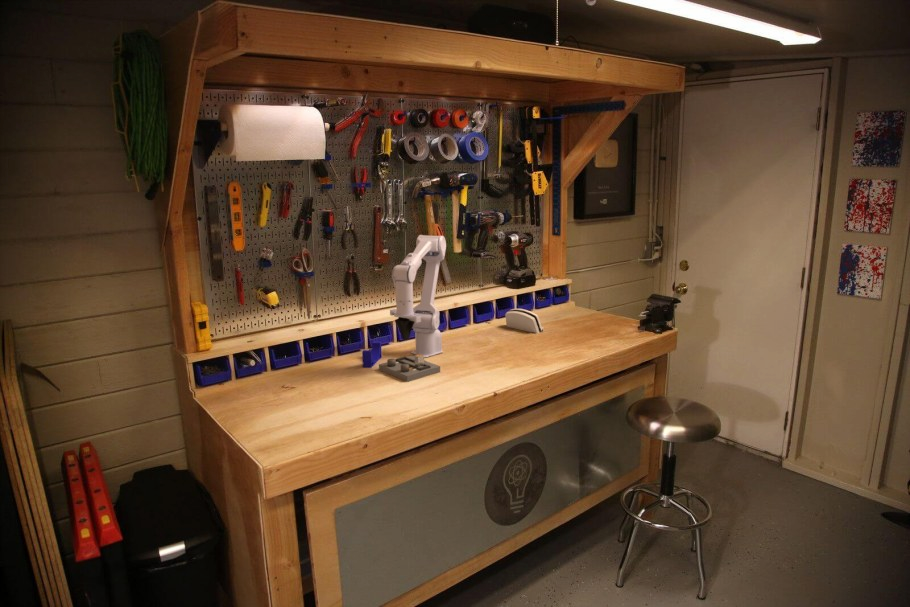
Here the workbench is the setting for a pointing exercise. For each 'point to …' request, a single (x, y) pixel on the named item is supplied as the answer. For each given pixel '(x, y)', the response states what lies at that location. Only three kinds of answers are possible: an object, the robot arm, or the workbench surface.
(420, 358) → the fader tab
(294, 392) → the workbench surface
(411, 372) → the console board
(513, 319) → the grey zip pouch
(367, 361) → the blue block
